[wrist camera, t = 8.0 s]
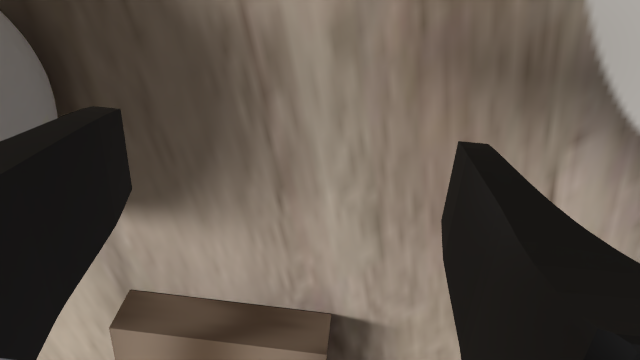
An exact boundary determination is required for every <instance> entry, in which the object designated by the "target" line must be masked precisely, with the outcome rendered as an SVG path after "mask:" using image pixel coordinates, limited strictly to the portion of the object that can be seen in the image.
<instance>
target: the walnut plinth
mask: <svg viewBox="0 0 640 360" xmlns="http://www.w3.org/2000/svg"><path fill="white" fill-rule="evenodd" d="M330 322H331V314H326V313H318V312H309V311H301V310H292V309H284V308H276V307H267V306H259V305H251V304H242V303H234V302H226V301H217V300H209V299H201V298H192V297H184V296H176V295H167V294H159V293H151V292H142V291H134V290H130V291H129V292H128V294H127V296H126V298H125V300H124V302H123V303H122V305H121V307H120V309H119V311H118V313H117V315H116V316H115V318H114V320H113V322H112V324H111V326H110V327H109V330H110V335H111V340H112V346H113V351H114V356H115V360H326V359H327V350H328V340H329V331H330Z"/></svg>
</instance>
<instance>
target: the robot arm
mask: <svg viewBox="0 0 640 360" xmlns="http://www.w3.org/2000/svg"><path fill="white" fill-rule="evenodd" d="M131 190H132V185H131V178H130V171H129V165H128V158H127V151H126V144H125V137H124V131H123V124H122V117H121V110H120V109H115V108H105V107H94V106H92V107H88V108H84V109H81V110H78V111H75V112H72V113H70V114H67V115H64V116H62V117H59V118H57V119H54V120H52V121H49V122H47V123H44V124H42V125H40V126H37V127H35V128H32V129H30V130H27V131H25V132H22V133H20V134H18V135H15V136H13V137H10V138H8V139H5V140H2V141H0V360H36V359H37V357H38V355H39V353H40V351H41V349H42V347H43V345H44V343H45V341H46V339H47V337H48V335H49V333H50V331H51V329H52V327H53V325H54V323H55V321H56V319H57V317H58V315H59V314H60V312H61V310H62V309H63V307H64V305H65V304H66V302H67V300H68V299H69V297H70V296H71V294H72V293H73V291H74V290H75V288H76V287H77V285H78V283H79V282H80V280H81V279H82V277H83V276H84V274H85V273H86V271H87V270H88V268H89V267H90V265H91V264H92V262H93V261H94V259H95V257H96V256H97V254H98V253H99V251H100V250H101V248H102V247H103V245H104V244H105V242H106V240H107V239H108V237H109V236H110V234H111V232H112V231H113V229H114V228H115V226H116V224H117V222H118V220H119V218H120V216H121V213H122V211H123V209H124V207H125V204H126V202H127V200H128V197H129V195H130V192H131ZM441 221H442V247H443V261H444V267H445V273H446V278H447V283H448V289H449V294H450V299H451V304H452V309H453V315H454V320H455V325H456V330H457V335H458V341H459V346H460V353H461V360H640V263H638V262H636V261H634V260H633V259H631V258H629V257H628V256H626V255H624V254H623V253H621V252H619V251H618V250H616V249H614V248H613V247H611V246H610V245H608V244H607V243H605V242H604V241H602V240H601V239H599V238H598V237H596V236H595V235H594V234H592V233H591V232H589V231H588V230H586V229H585V228H583V227H582V226H581V225H579V224H578V223H577V222H575V221H574V220H573V219H571V218H570V217H569V216H568V215H567V214H565V213H564V212H563V211H562V210H560V209H559V208H558V207H557V206H555V205H554V204H553V203H552V202H551V201H549V200H548V199H547V198H546V197H545V196H544V195H542V194H541V193H540V192H539V191H538V190H537V189H536V188H535V187H534V186H532V185H531V184H530V183H529V182H528V181H527V180H526V179H525V178H524V177H523V176H522V175H521V174H520V173H519V172H518V171H517V170H516V169H514V168H513V167H512V166H511V165H510V164H509V163H508V162H507V161H506V160H505V159H504V158H503V157H502V156H501V155H500V154H499V153H498V152H497V151H496V150H495V149H493V148H492V147H491V146H490V145H489V144H482V143H471V142H461V141H458V146H457V150H456V155H455V160H454V164H453V169H452V174H451V178H450V183H449V188H448V192H447V197H446V202H445V206H444V211H443V216H442V220H441Z"/></svg>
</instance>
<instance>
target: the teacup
mask: <svg viewBox="0 0 640 360" xmlns="http://www.w3.org/2000/svg"><path fill="white" fill-rule="evenodd" d="M54 119H57V110H56V104H55V98H54V95H53V92H52V89H51V86H50V83H49V80H48V77H47V75H46V73H45V70H44V68H43V66H42V64H41V62H40V61H39V59H38V57H37V56H36V54H35V52H34V51H33V49H32V47H31V46H30V45H29V43H28V42H27V40H26V39H25V37H24V36H23V35H22V34H21V33H20V31H19V30H18V29H17V28H16V27H15V26H14V25H13V23H12V22H11V21H10V20H9V19H8V18H7V17H6V16H5V15H4V14H3V13H2V12H1V11H0V141H2V140H5V139H8V138H10V137H13V136H15V135H18V134H20V133H22V132H25V131H27V130H30V129H32V128H35V127H37V126H40V125H42V124H44V123H47V122H49V121H52V120H54Z"/></svg>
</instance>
